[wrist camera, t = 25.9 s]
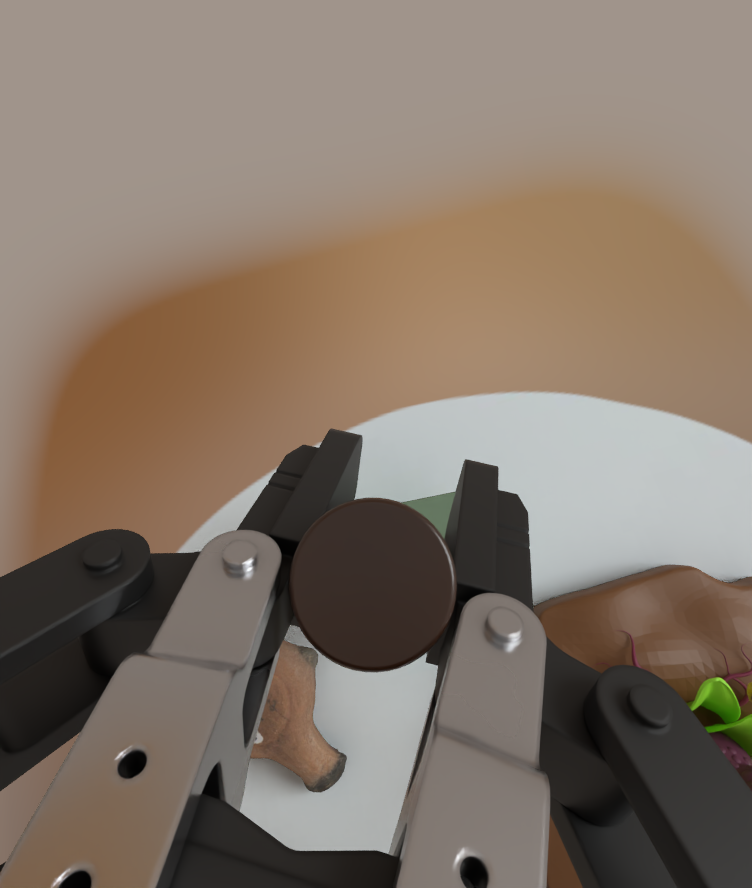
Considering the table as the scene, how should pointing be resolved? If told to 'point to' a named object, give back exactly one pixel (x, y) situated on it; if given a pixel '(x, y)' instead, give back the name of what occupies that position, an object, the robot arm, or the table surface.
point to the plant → (664, 654)
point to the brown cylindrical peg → (372, 585)
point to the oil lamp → (296, 722)
